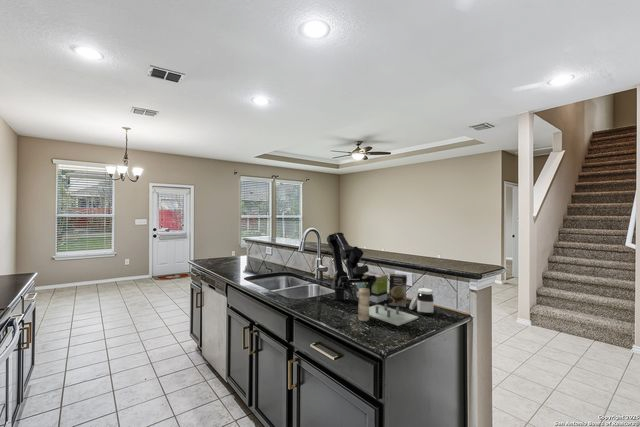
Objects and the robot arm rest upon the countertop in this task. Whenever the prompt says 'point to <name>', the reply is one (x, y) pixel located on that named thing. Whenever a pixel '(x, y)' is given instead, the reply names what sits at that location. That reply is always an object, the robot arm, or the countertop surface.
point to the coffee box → (397, 290)
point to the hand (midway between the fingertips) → (361, 296)
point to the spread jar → (423, 302)
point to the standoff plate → (390, 315)
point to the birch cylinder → (363, 304)
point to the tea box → (376, 287)
